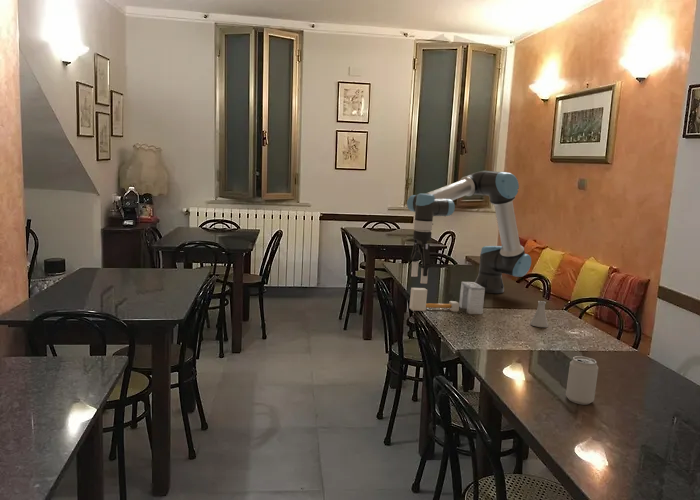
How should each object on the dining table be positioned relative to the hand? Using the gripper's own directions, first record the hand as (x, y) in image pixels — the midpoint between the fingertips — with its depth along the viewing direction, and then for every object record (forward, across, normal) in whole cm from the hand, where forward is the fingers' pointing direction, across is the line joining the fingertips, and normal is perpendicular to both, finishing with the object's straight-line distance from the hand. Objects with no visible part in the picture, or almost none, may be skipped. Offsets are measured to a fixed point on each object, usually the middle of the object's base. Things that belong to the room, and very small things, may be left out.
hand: (418, 279), depth 257 cm
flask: (+14, -22, -46) cm, 53 cm away
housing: (+13, 0, -25) cm, 28 cm away
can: (+13, -97, -18) cm, 100 cm away
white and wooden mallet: (+13, 0, -8) cm, 15 cm away
